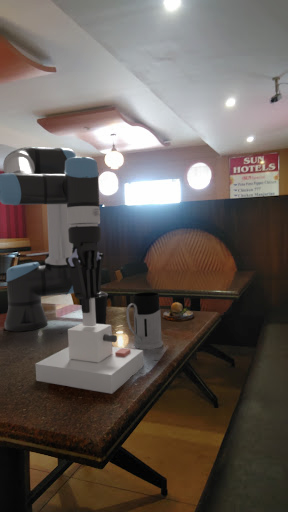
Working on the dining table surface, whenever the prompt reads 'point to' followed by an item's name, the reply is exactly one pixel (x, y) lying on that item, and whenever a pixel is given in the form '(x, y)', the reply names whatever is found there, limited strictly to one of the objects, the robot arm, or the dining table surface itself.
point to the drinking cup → (101, 307)
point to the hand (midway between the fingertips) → (89, 325)
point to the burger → (178, 313)
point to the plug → (90, 342)
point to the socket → (91, 370)
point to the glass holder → (146, 320)
